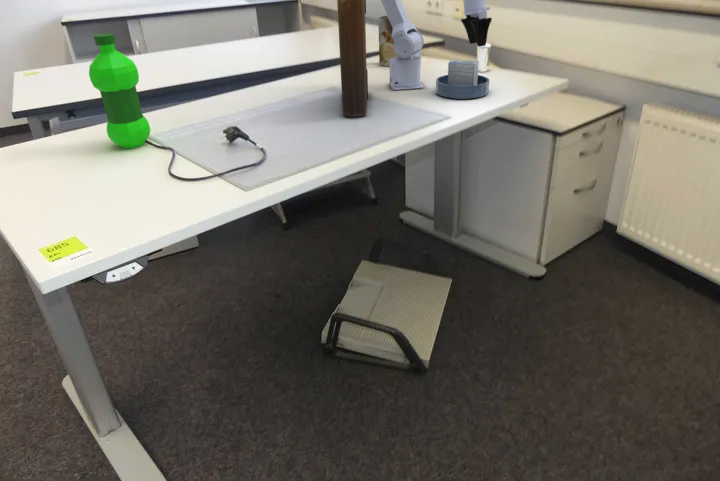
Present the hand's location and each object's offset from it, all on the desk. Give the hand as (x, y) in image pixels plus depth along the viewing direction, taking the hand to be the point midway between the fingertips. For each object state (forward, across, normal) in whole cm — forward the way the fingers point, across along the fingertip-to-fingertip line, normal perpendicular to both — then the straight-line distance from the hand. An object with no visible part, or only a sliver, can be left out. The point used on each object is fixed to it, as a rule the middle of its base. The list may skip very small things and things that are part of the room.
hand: (477, 44), depth 152 cm
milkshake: (+13, +26, -9) cm, 30 cm away
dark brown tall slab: (+9, -5, +37) cm, 39 cm away
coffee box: (+8, +43, +19) cm, 47 cm away
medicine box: (+12, +1, +6) cm, 14 cm away
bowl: (+13, +1, +6) cm, 14 cm away
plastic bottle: (+3, -26, +93) cm, 97 cm away
